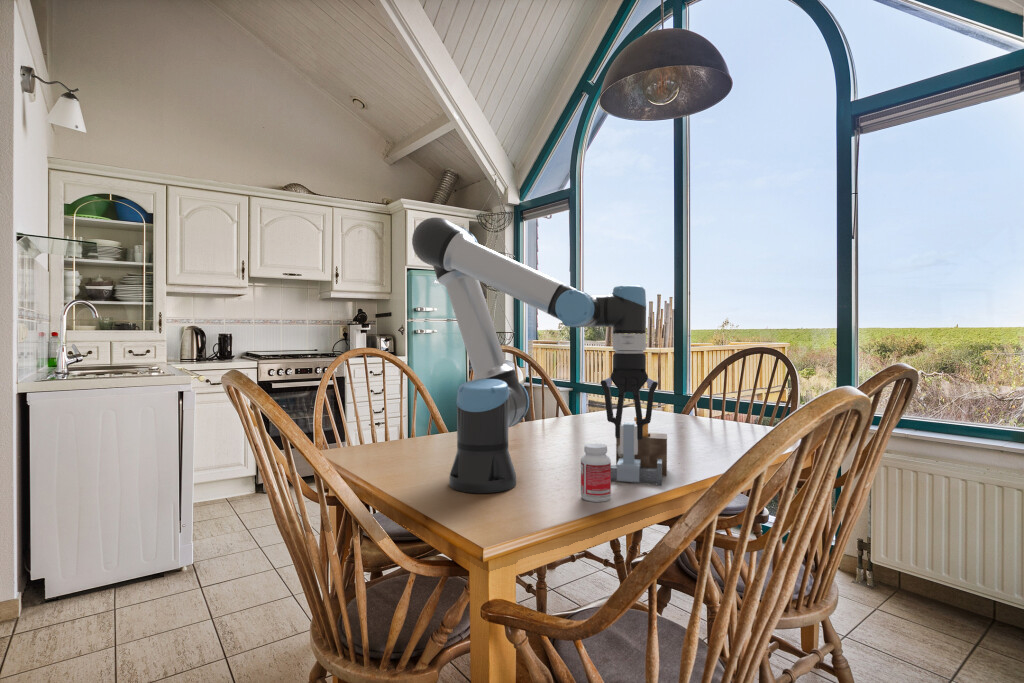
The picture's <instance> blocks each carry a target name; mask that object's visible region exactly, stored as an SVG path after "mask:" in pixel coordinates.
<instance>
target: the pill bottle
mask: <svg viewBox="0 0 1024 683" xmlns="http://www.w3.org/2000/svg"><path fill="white" fill-rule="evenodd" d="M583 450H584V453H585V454H584V455H582V456H581V458H580V496H581V499H583V500H584V501H587V502H593V503H603V502H607V501H609V500H610V499H611V496H612V495H611V494H612V486H611V485H612V483H611V482H612V481H611V465H612V462H611V458H610V456H609V455H607V453H608V445H607V444H605V443H587V444H584V449H583Z"/></svg>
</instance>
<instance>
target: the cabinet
mask: <svg viewBox="0 0 1024 683" xmlns="http://www.w3.org/2000/svg"><path fill="white" fill-rule="evenodd" d="M615 442H616V443H615V449H616V450H615V465H617V463H618V460H619V458H623V454H620V439H619V438H616V437H615ZM635 459H639V460H641V467H649V468H657V460H658V459H662V477H667V475H668V433H660V432H658V433H657V432H648V437H642V440H638V453H637V455H635Z"/></svg>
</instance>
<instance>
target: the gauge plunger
mask: <svg viewBox="0 0 1024 683" xmlns="http://www.w3.org/2000/svg"><path fill="white" fill-rule="evenodd" d="M645 417H646V416H642V419H644V418H645ZM633 419H634V420H633V421H634V422H635V424H636V425H637V419H636V416H635V417H633ZM648 433H649V424H645V425H643V437H648Z"/></svg>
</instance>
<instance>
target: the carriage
mask: <svg viewBox="0 0 1024 683" xmlns="http://www.w3.org/2000/svg"><path fill="white" fill-rule="evenodd" d="M622 424H623V458H619V460H618V463H617V481H616V482H621V481H629V482H628V483H634V482H639V469H640V467H641V460H639V459H635V454H634V425H635V424H636V422H624V423H622Z"/></svg>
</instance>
